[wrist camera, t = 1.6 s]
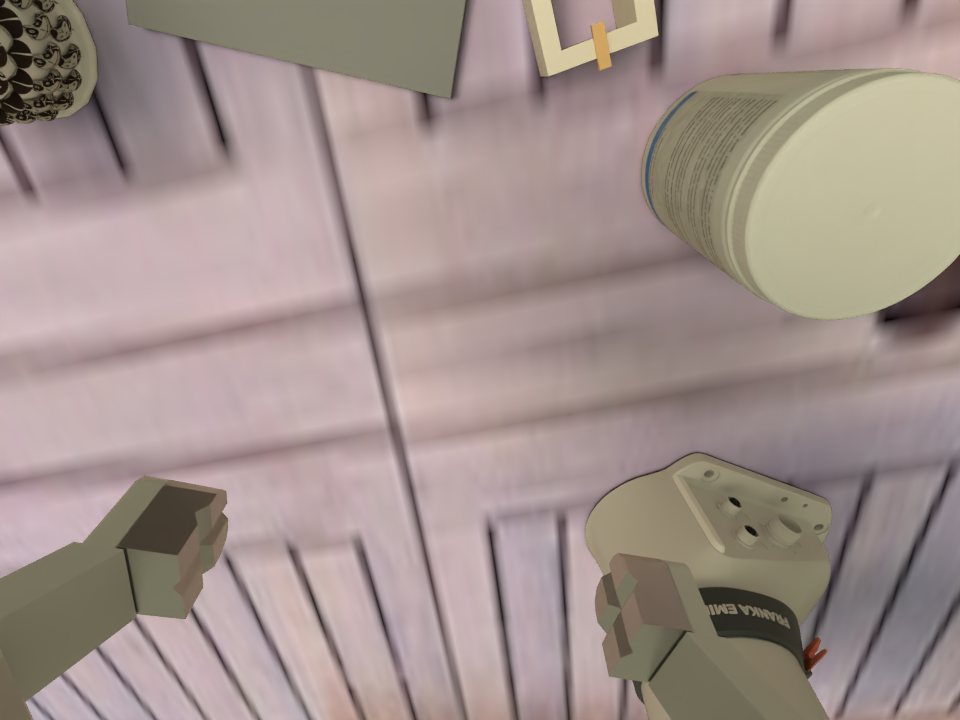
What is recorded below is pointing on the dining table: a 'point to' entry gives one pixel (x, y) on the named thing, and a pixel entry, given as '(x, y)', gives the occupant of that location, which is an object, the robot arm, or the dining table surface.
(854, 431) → the dining table surface
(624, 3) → the cream open box
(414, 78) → the grey square panel
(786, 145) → the supplement tub
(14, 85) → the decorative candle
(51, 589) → the robot arm
